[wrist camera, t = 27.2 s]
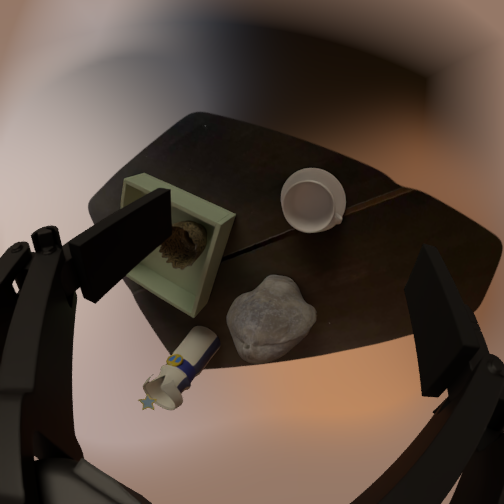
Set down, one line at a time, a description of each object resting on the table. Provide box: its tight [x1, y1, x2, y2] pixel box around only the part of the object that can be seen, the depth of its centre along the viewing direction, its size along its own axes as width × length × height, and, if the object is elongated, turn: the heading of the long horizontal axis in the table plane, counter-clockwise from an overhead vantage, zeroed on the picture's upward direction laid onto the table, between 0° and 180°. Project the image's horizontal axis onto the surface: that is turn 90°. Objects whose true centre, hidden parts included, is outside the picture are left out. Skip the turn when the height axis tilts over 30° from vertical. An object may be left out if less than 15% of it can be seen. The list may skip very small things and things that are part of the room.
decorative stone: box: [226, 275, 317, 364], centre depth 44 cm, size 15×10×15 cm
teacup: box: [281, 168, 346, 233], centre depth 40 cm, size 10×10×5 cm
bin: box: [120, 173, 236, 318], centre depth 51 cm, size 21×21×6 cm
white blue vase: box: [139, 326, 220, 410], centre depth 51 cm, size 8×9×25 cm
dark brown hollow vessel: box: [159, 220, 207, 270], centre depth 47 cm, size 8×7×8 cm
